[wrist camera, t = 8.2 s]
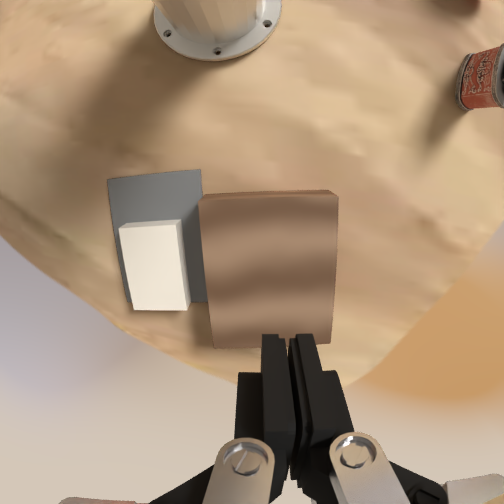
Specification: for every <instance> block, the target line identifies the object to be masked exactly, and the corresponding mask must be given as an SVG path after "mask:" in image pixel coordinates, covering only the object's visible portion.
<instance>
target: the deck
mask: <svg viewBox="0 0 504 504" xmlns="http://www.w3.org/2000/svg"><path fill="white" fill-rule="evenodd" d="M198 208H199V220H200V231H201V241H202V252H203V261H204V271H205V280H206V289H207V297H208V306H209V314H210V322H211V330H212V337H213V345H214V348H259V347H262V334H279V338H285V342H286V346H289V339H290V338H295V335H296V334H305V333H312V334H313V336H314V340H315V343H316V345H317V344H329V343H330V342H331V332H332V321H333V309H334V296H335V281H336V263H337V240H338V196H337V195H335V194H334V193H332V192H331V191H329V190H298V191H265V192H241V193H222V194H205V195H204V196H203V197H202V198H201V199H200V200H199V201H198Z"/></svg>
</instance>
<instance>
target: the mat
mask: <svg viewBox="0 0 504 504" xmlns="http://www.w3.org/2000/svg"><path fill="white" fill-rule="evenodd" d="M107 182H108V191H109V200H110V207H111V215H112V222H113V228H114V235H115V241H116V247H117V252H118V258H119V263H120V268H121V273H122V278H123V283H124V288H125V292H126V297H127V301H128V302H132V299H131V294H130V289H129V285H128V280H127V275H126V269H125V264H124V259H123V253H122V247H121V241H120V235H119V229H118V228H120V227H122V226H123V225H125V224H126V223H134V222H148V221H163V220H179V219H181V222H182V232H183V241H184V250H185V258H186V266H187V274H188V282H189V289H190V296H191V302H208V297H207V289H206V280H205V271H204V261H203V252H202V241H201V231H200V220H199V208H198V201H199V200H200V199H201V198H202V197H203V196H202V183H201V169H199V170H187V171H176V172H165V173H156V174H147V175H138V176H130V177H122V178H115V179H108V180H107Z"/></svg>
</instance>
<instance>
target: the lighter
mask: <svg viewBox="0 0 504 504" xmlns="http://www.w3.org/2000/svg"><path fill="white" fill-rule="evenodd" d="M455 100H456V103H457V104H458V106H459V107H460V108H461V109H463V110H465V111H469V110H473V109H474V108H487V107H500V108H504V44H502V45H501V46H500V47H496V48H493V49H489V50H486V51H483V52H479V53H471V54H468V55H467V56H466V57H465V59H464V61H463V63H462V66H461V68H460V71H459V74H458V79H457V83H456V92H455Z"/></svg>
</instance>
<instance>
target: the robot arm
mask: <svg viewBox="0 0 504 504" xmlns="http://www.w3.org/2000/svg"><path fill="white" fill-rule="evenodd" d="M152 1H153V3H154V4H155V8H154V14H153V15H154V24H155V27H156V30H157V33H158V34H159V36H160V37H161V39H162V40H163V41H164V42H165V43H166V44H167V46H169V47H170V48H171V49H173V50H174V51H175V52H177V53H179V54H181V55H183V56H185V57H188V58H191V59H195V60H201V61H223V60H228V59H233V58H236V57H239V56H242V55H244V54H247V53H249V52H250V51H252V50H254V49H256V48H257V47H259V46H260V45H261V44H262V43H264V42H265V41H266V40H267V39H268V38H269V37H270V35H271V34H272V33H273V32H274V30H275V28H276V26H277V25H278V22H279V19H280V15H281V8H282V3H281V0H152ZM265 25H269V26H270V27H268V28H267V27H265ZM170 34H171V36H169V37H168V35H170ZM217 52H221V54H220V55H216V53H217ZM236 403H237V404H236V418H235V434H234V440H232V441H230V442H228V443H226V444H225V445H224V446H223V447H222V448H221V449H220V451H219V453H218V455H217V458H216V461H215V464H214V465H212V466H211V467H209V468H208V469H206V470H204V471H203V472H201V473H200V474H198V475H197V476H195V477H193V478H192V479H190V480H188V481H187V482H185V483H183V484H182V485H180V486H178V487H176V488H175V489H173V490H171V491H169V492H168V493H166V494H164V495H162V496H160V497H158V498H157V499H155V500H153V501H151V502H150V503H144V504H270V503H271V502H272V501H274V500H275V499H276V498H277V497H278V496H279V495H281V493H282V488H283V484H284V480H286V479H287V474H288V469H289V465H290V476H291V480H297V485H298V488H302V490H303V493H304V494H305V495H307V496H308V497H310V498H311V502H312V504H504V477H503V476H502V475H499V474H489V475H485V476H479V477H473V478H468V479H461V480H454V481H447V482H446V483H445V484H441V485H439V484H438V483H436V482H434V481H432V480H429V479H427V478H425V477H423V476H420V475H418V474H416V473H413V472H412V471H409V470H407V469H405V468H403V467H401V466H399V465H397V464H395V463H393V462H391V461H388V459H387V457H386V455H385V453H384V451H383V450H382V448H381V446H380V444H379V443H378V442H377V440H376V439H374V438H373V437H372V436H370V435H367V434H365V433H360V432H354V428H353V425H352V421H351V418H350V414H349V411H348V407H347V404H346V400H345V397H344V393H343V390H342V387H341V383H340V380H339V377H338V374H337V372H336V371H335V370H331V371H322V367H321V363H320V359H319V355H318V351H317V347H316V343H315V340H314V336H313V334H312V333H305V334H296V335H295V338H290V339H289V348H288V357H287V349H286V342H285V338H279V334H262V348H261V373H254V372H239V373H238V386H237V402H236ZM59 504H143V503H136V502H135V501H113V500H99V499H88V498H79V497H69V498H66V499H64V500H62V501H61V502H60V503H59Z"/></svg>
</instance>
